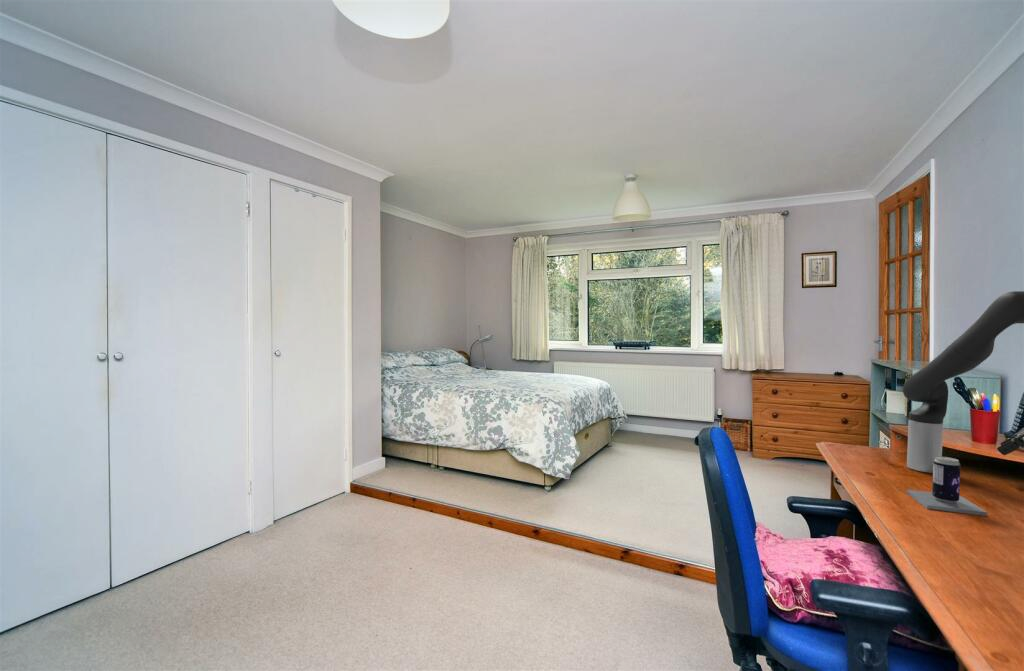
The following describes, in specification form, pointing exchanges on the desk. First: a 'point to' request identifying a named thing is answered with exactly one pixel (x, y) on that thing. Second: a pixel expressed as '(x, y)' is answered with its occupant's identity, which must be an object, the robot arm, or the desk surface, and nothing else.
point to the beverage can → (946, 479)
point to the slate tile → (935, 504)
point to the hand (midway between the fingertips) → (1001, 449)
